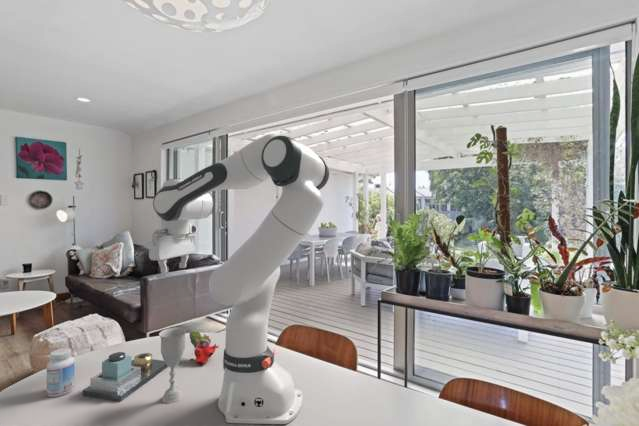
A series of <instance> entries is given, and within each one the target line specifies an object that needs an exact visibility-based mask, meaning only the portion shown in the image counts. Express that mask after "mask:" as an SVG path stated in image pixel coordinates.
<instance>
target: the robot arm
mask: <svg viewBox="0 0 639 426" xmlns="http://www.w3.org/2000/svg"><path fill="white" fill-rule="evenodd" d="M269 178H270V179H271V181H272V182H273V184H274V185H275V186H277V187H281V188H282V190H281V191H282V192H281V195H280V197H279V199H278V200H277V202H276V203H275V204H274V205H273V206H272V208H271V210H269V212H268V213H267V215H266V216H265V218H264V219H263V220H262V222H261V223H260V225H259V226H258V228H256V230H255V231H254V232H253V234H252V235H251V236H249V238H248V239H247V240H246V241H244V243H243V244H242V245H241V246H239V248H237V250H236V251H234V252H233V254H232V255H231V256H230V257H229V258H228V259H226V261H224V262H223V263H222V264H221V265H219V266H218V267H217V268H215V270H213V272H212V273H211V274H210V276H209V279H208V291H209V293H210V296H211V297H212V299H213V300H214V301H215V302H216V303H218V304H220V305H222V306H232V309H231V311H230V313H229V315H228V316H227V319H226V322H225V347H224V349H223V360H222V367H223V378H222V385H221V386H222V387H221V391H220V394H219V399H218V400H217V407H218V410H219V412H221V413H222V414H223V415H224V418H225V421H226V422H227V423H228V424H253V425H254V424H257V425H258V424H259V425H260V424H261V425H263V424H264V425H286V424H289V423H291V422H292V421H294V420H295V419H296V417H297V416H298V414H299V413H300V411H301V408H302V405H303V401H304V400H303V399H304V398H303V393H302V391H301V390H300V389H297V388H295V381H294V379H293V376H292V375H291V373H290V372H288V371H287V370H285V369H284V368H283V367H282V366H280V365H279V363H277V362H276V361H275V355H276V348H274V349H273V351H272V350H271V349H270V347H269V346H268V335H269V334H268V333H269V318H270V317H269V316H270V312H271V306H272V303H273V298H274V293H275V289H276V286H277V283H278V281H279V279H280V276H281V267H280V266H281V265H282V264H283V263H284V262H285V261H286V260H288V259H289V258H290V257H291V255H292V254H293V252H294V251H295V250H296V249H297V248H298V246H299V245H300V243H301V242H302V241H303V239H304V238H305V237H306V235H307V234H308V233H309V231H310V230H311V228H312V227H313V225H314V224H315V222H316V221H317V218H318V217H319V215H320V213H321V211H322V209H323V207H324V203H325V201H324V197H323V195H322V193H321V191H320V190H322V189H323V188H324V187H325V186H326V184H327V183H328V181H329V178H330V169H329V165H328V164H327V163H326V161H325V160H324V159H323V157H322V156H320V155H318V154H317V153H315V152H314V150H312V148H310V147H308V146H307V145H305V144H304V143H301V142H299V141H297V140H296V139H295V138H293V137H290V136H286V135H278V134H276V133H269V134H268V133H267V134H266V135H262V136H261V137H259V138H257V139H255V140H253V141H251V142H250V143H248V144H246V145H244V147H241V148H240V149H239V150H237V151H236V152H234V153H233V154H231V155H230V156H227V157H225V158H224V159H221V160H220V161H218V162H216V163H213V164H211V165H208V166H206V167H205V168H203V169H201V170H199V171H197V172H195V173H194V174H192V175H190V176H188V177H187V178H185V179H184V178H170V179H167V180H165V181H164V182H163V183H162V186H161V188H160V189H159V190H158V191H157V192H156V193H155V195H154V198H153V201H152V205H153V210H154V211H155V213H156V215H157V216H158V217H159V229H156V230H155V231H154V232H153V233H152V235H151V238H150V242H149V247H148V249H149V250H148V258H149V259H150V261H157V263H158V265H159V267H160V273H161V274H166V273H169V269H170V268H169V266H167V262H168V259H173V258H177V257H180V258H181V259H180V262H178V263H179V264H178V268H180V269H185V268H187V262H188V260H189V256H190V254H194V253H195V252H196V250H197V243H198V242H197V241H198V240H197V239H198V238H197V237H198V235H197V234H196V233H198V226H197V225H195V224H193V223H191V222H190V221H191V220H203V219H206V218H208V217H209V216H210V215H211V214H212V212H213V210H214V205H215V203H214V199H213V196H212V195H211V194H210V193H212V192H217V191H223V190H248V189H250V188H253V187H256V186H258V185H260V184H262V183H263V182H266V180H268V179H269Z"/></svg>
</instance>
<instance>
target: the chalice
mask: <svg viewBox="0 0 639 426" xmlns="http://www.w3.org/2000/svg"><path fill="white" fill-rule="evenodd" d="M187 331H188V329H187V328H186V327H182V326H180V327H179V326H175V327H168V328H166V329H163V330H161V331H160V332H159V333H158V335H159V337H160V354H161V357H162V359H163V361H165V363H166V365H167V366H168V367H167V368H170V372H169V376H170V378H169V380H168V382H169V384H170V385H169V387H168V388H167V389H166V390H165V391H164V393H163V396H162V398H161V401H162V403H164V404H174V403H177V402H179V401H180V400H181V399H182V397H183V394H182V392H181V390H180V388H179V387H178V386H175V381H176V380H177V379H176V378H175V375H176V370H175V367H176V366H177V365H179V363H180V361H181V359H182V358H183V355H184V352H185V348H186V334H187Z"/></svg>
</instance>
